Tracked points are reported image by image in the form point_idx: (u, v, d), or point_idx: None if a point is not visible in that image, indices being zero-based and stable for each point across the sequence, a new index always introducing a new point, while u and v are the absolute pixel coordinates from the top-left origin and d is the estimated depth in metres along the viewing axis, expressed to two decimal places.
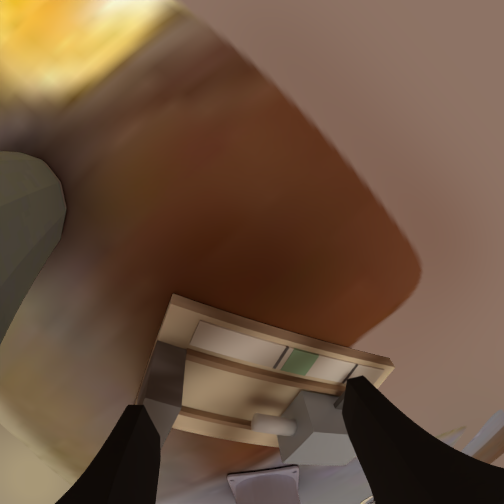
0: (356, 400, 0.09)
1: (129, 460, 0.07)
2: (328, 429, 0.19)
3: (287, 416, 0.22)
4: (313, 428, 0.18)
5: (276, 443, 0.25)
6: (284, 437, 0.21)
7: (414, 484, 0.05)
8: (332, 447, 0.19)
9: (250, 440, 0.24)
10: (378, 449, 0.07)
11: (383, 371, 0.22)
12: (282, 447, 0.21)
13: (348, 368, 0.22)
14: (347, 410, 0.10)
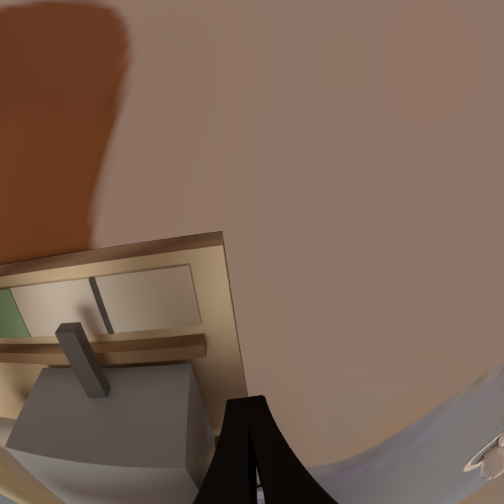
0: None
1: (248, 456, 0.07)
2: (36, 446, 0.06)
3: None
4: (9, 440, 0.06)
5: None
6: None
7: None
8: (101, 488, 0.07)
9: None
10: (260, 475, 0.07)
11: (190, 270, 0.09)
12: None
13: (83, 295, 0.09)
14: None
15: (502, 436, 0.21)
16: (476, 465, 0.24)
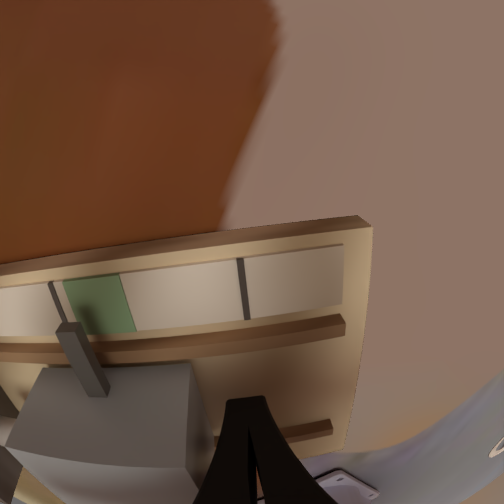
0: None
1: (248, 456, 0.07)
2: (36, 445, 0.06)
3: None
4: (9, 439, 0.06)
5: None
6: None
7: None
8: (101, 489, 0.07)
9: None
10: (260, 475, 0.07)
11: (344, 250, 0.09)
12: None
13: (224, 278, 0.09)
14: None
15: None
16: (499, 451, 0.24)
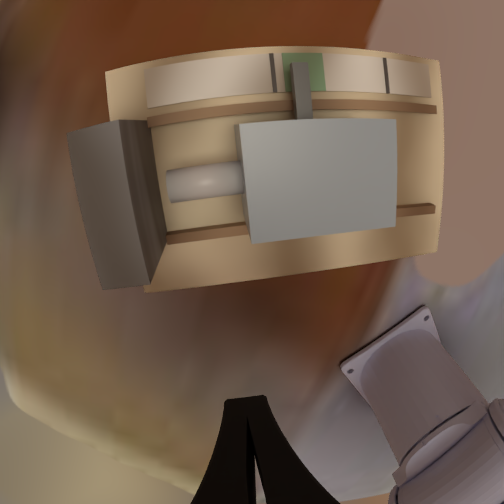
0: (247, 421, 0.09)
1: (247, 456, 0.07)
2: None
3: None
4: None
5: (370, 253, 0.18)
6: (244, 205, 0.13)
7: None
8: (322, 167, 0.11)
9: (329, 261, 0.17)
10: (261, 475, 0.07)
11: (428, 67, 0.13)
12: (247, 222, 0.13)
13: (377, 66, 0.13)
14: None
15: None
16: None
